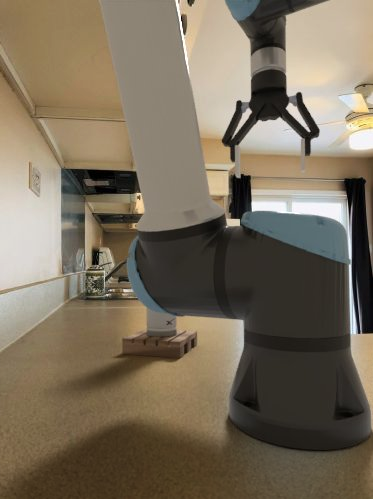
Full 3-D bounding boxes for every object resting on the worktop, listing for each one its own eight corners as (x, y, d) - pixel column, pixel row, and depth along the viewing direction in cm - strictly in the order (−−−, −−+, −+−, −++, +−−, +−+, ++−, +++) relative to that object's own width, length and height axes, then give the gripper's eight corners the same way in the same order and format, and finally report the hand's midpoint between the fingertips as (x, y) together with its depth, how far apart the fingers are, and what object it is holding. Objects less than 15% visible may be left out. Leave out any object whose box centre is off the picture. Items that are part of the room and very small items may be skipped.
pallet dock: (180, 358, 68) (180, 341, 69) (122, 353, 72) (122, 338, 72) (197, 344, 80) (197, 330, 80) (146, 341, 83) (146, 328, 84)
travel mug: (178, 337, 73) (177, 237, 74) (144, 337, 73) (145, 237, 74) (178, 331, 79) (178, 239, 80) (148, 331, 79) (148, 239, 80)
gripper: (328, 76, 79) (331, 173, 78) (215, 92, 86) (216, 182, 85) (331, 57, 72) (334, 164, 71) (208, 77, 79) (208, 174, 78)
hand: (269, 174), depth 78 cm, fingers open, 13 cm apart
